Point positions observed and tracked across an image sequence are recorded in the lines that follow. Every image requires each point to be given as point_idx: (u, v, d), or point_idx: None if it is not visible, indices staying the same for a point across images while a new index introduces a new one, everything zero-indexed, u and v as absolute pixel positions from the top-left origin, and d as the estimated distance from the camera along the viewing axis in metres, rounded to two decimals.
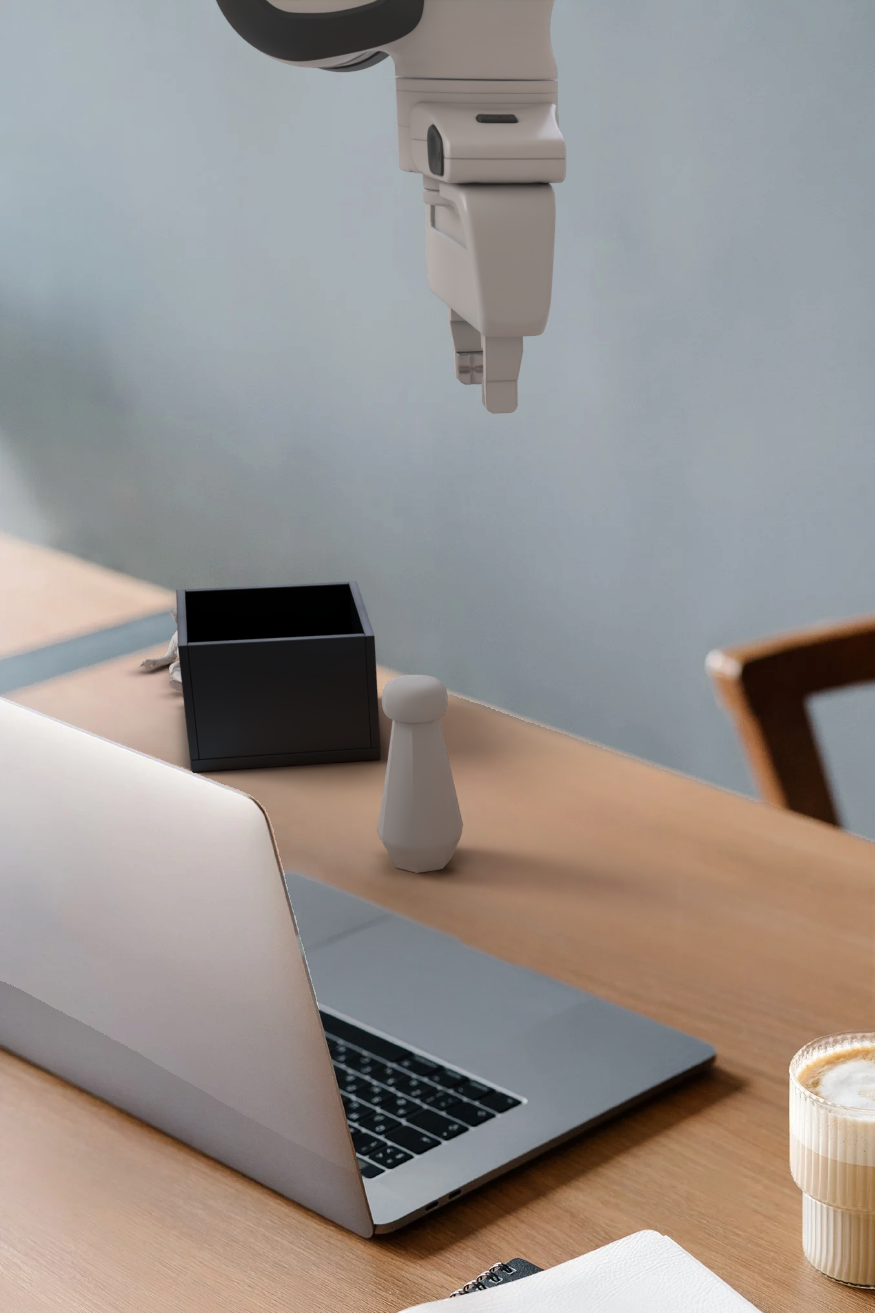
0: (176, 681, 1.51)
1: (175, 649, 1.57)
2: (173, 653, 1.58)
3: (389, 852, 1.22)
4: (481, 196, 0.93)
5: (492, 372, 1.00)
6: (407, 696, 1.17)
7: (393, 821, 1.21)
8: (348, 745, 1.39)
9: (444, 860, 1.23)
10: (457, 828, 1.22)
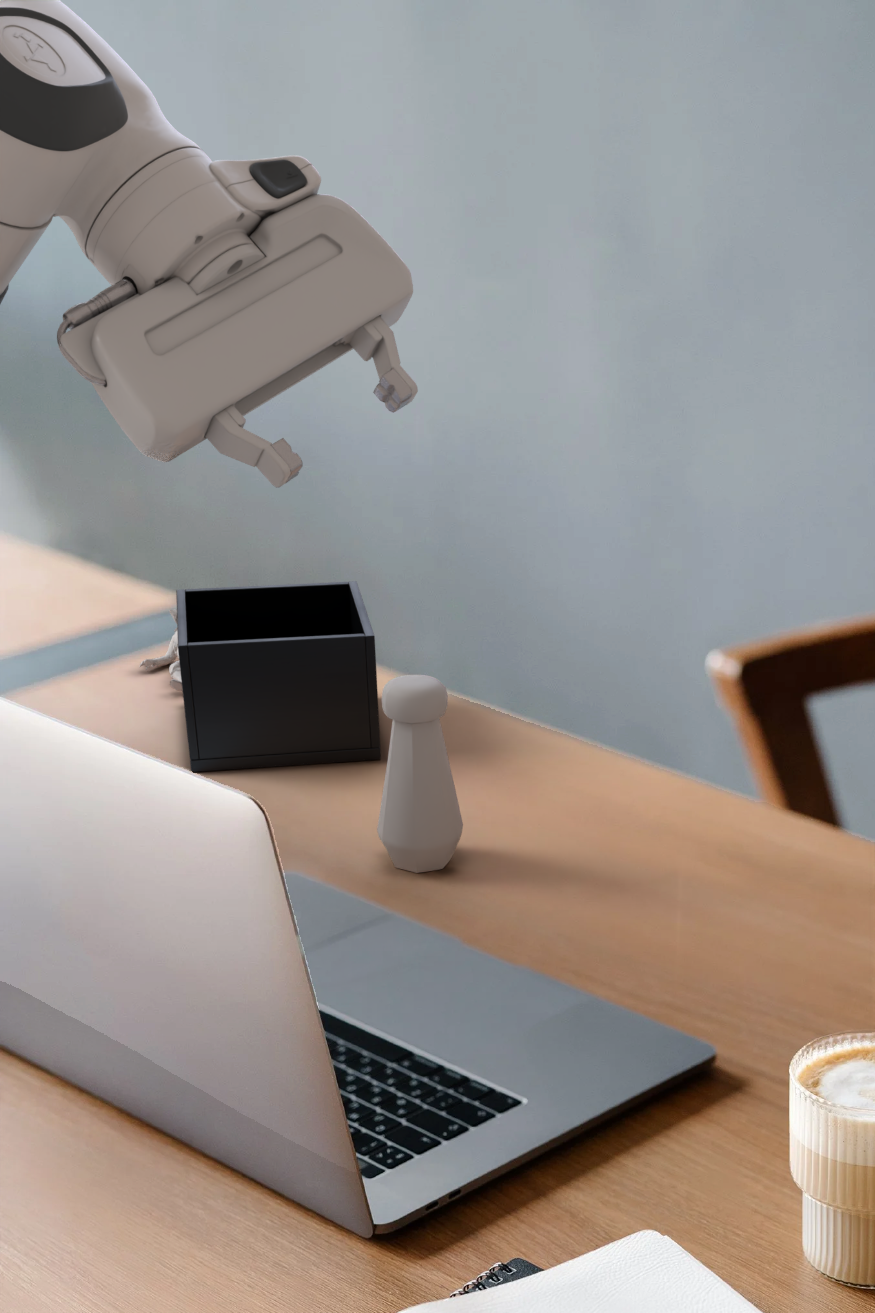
0: (176, 681, 1.51)
1: (175, 649, 1.57)
2: (173, 653, 1.58)
3: (389, 852, 1.22)
4: None
5: None
6: (407, 696, 1.17)
7: (393, 821, 1.21)
8: (348, 745, 1.39)
9: (444, 860, 1.23)
10: (457, 828, 1.22)
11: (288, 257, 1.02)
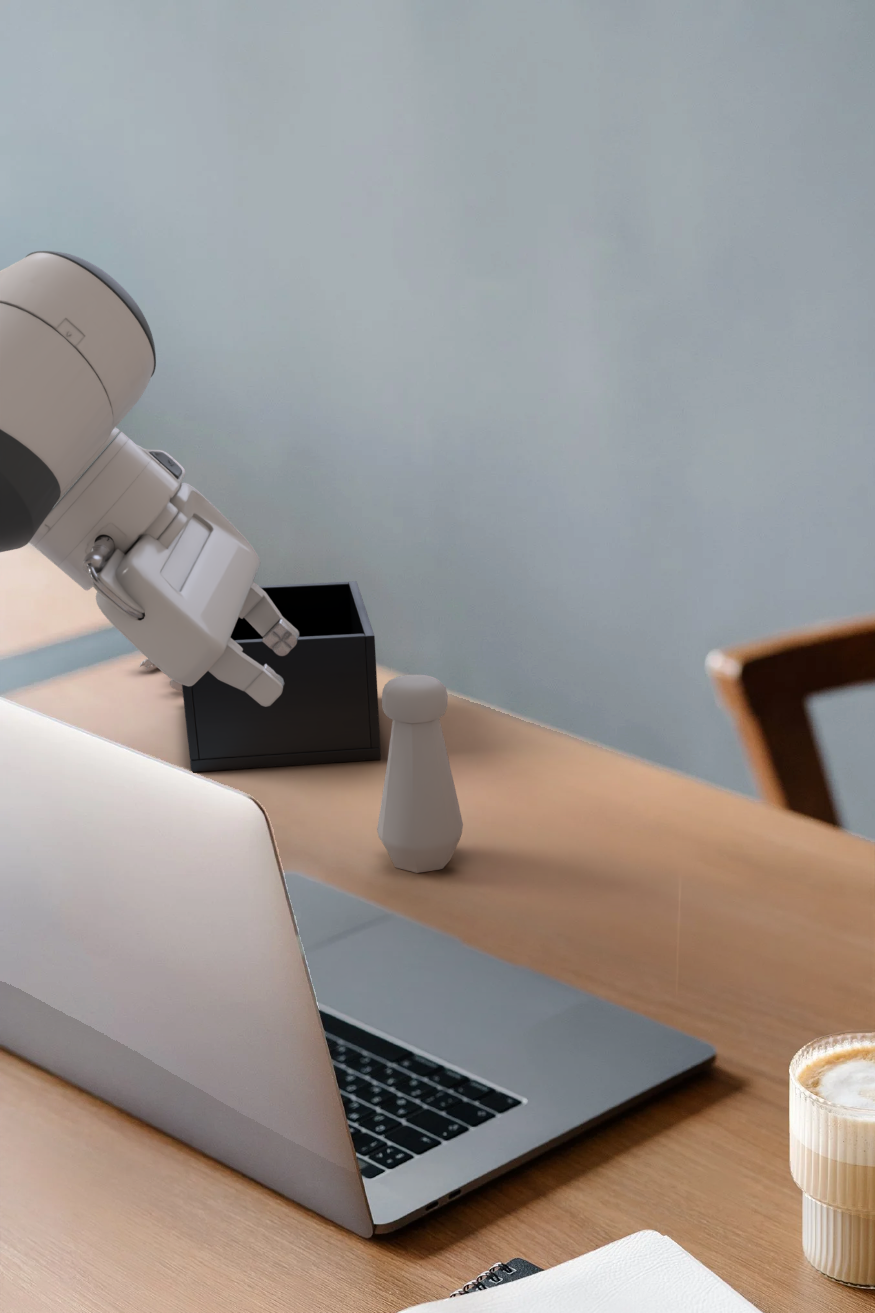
0: None
1: None
2: None
3: (389, 852, 1.22)
4: None
5: None
6: (407, 696, 1.17)
7: (393, 821, 1.21)
8: (348, 745, 1.39)
9: (444, 860, 1.23)
10: (457, 828, 1.22)
11: (187, 528, 1.15)
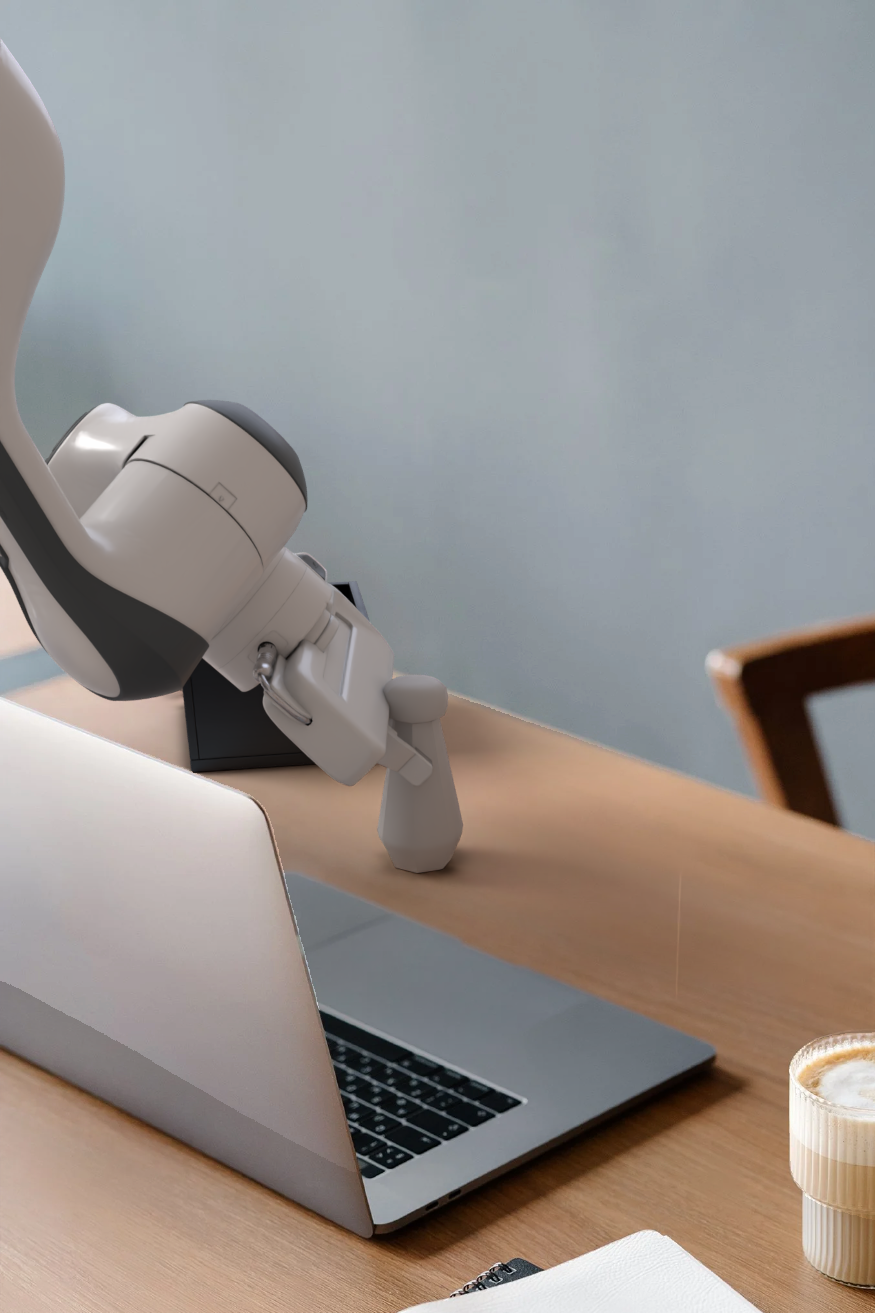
0: None
1: None
2: None
3: (389, 852, 1.22)
4: None
5: None
6: (407, 696, 1.17)
7: (393, 821, 1.21)
8: None
9: (444, 860, 1.23)
10: (457, 828, 1.22)
11: None
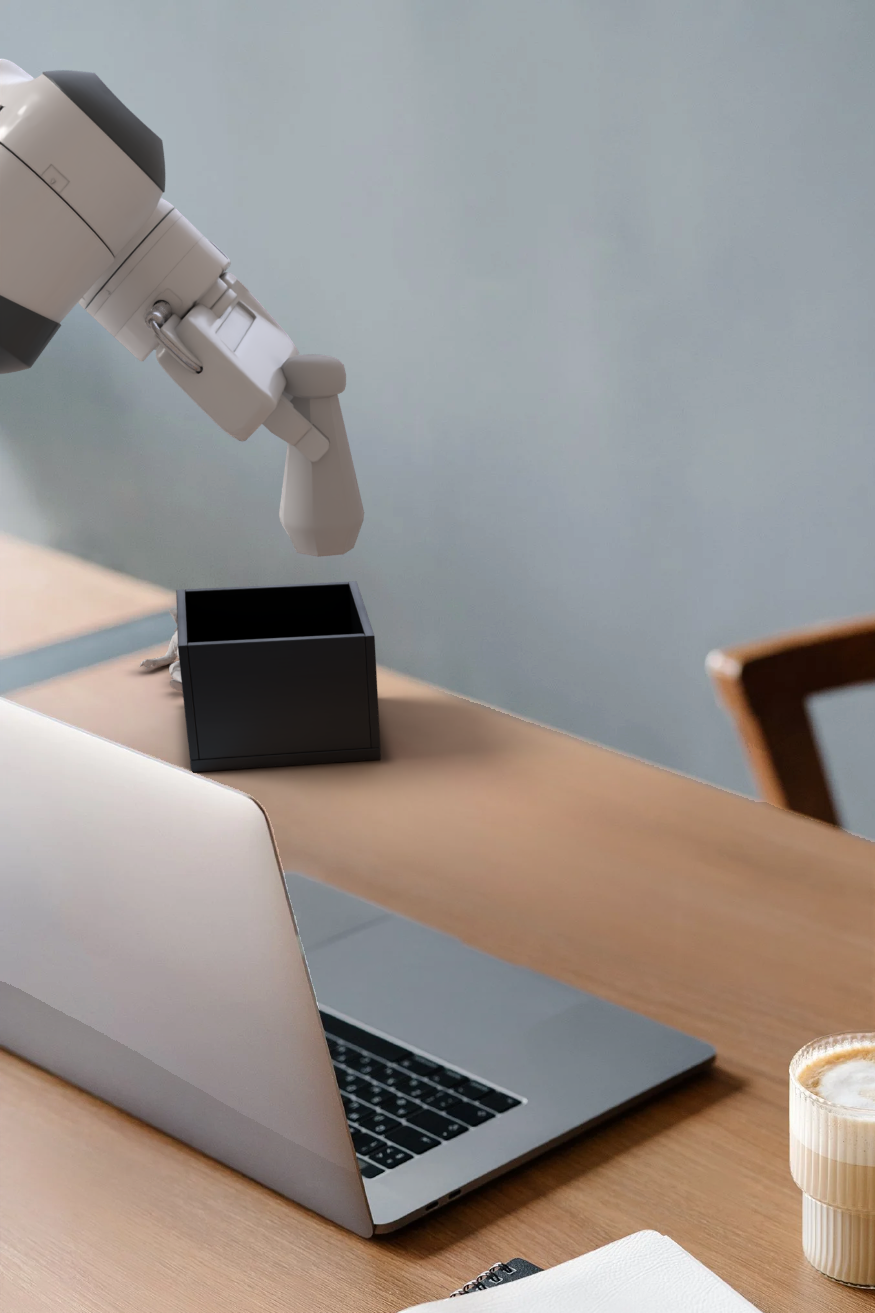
0: (176, 681, 1.51)
1: (175, 649, 1.57)
2: (173, 653, 1.58)
3: (290, 535, 1.25)
4: None
5: None
6: (304, 368, 1.19)
7: (293, 501, 1.23)
8: (348, 745, 1.39)
9: (344, 544, 1.25)
10: (357, 512, 1.25)
11: (234, 311, 1.23)
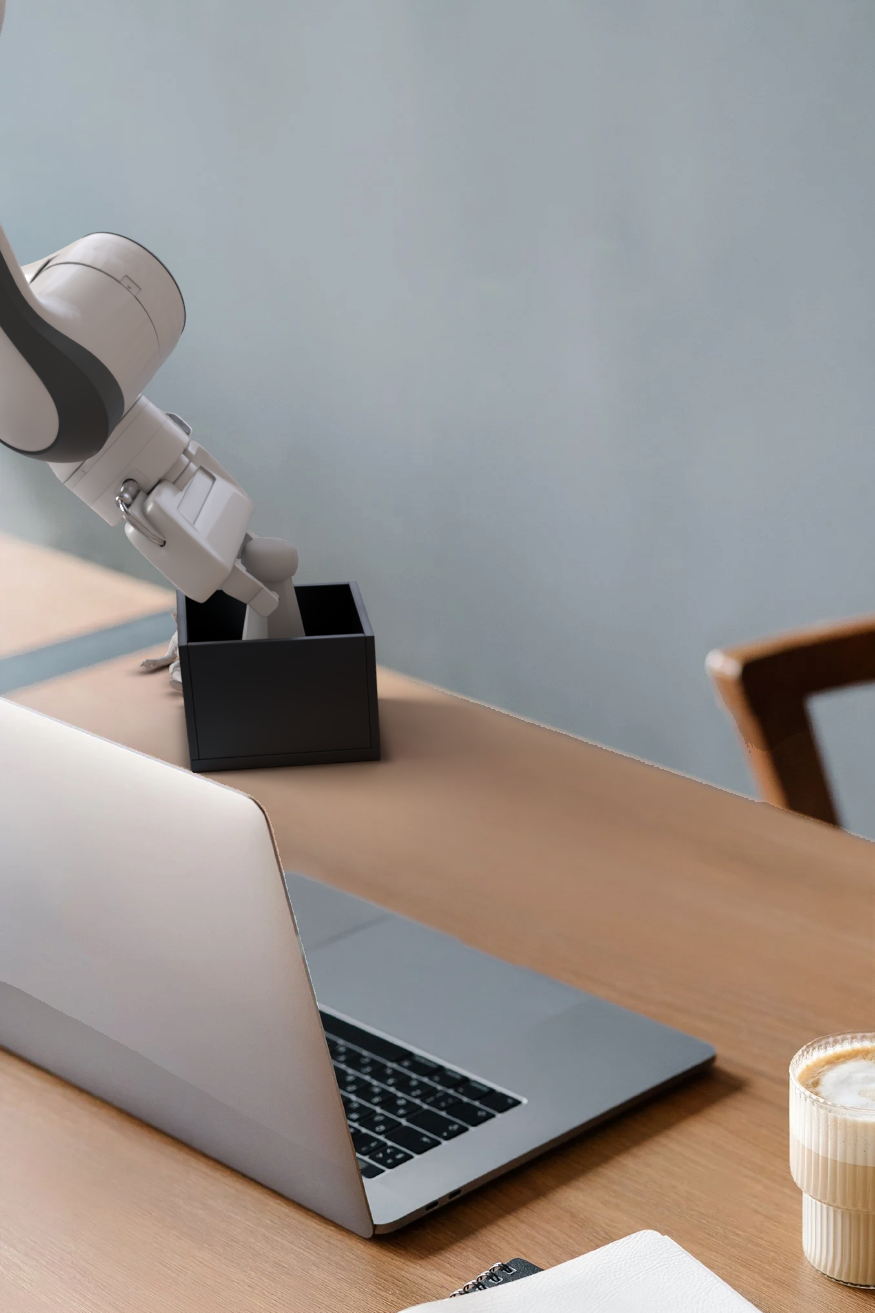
0: (176, 681, 1.51)
1: (175, 649, 1.57)
2: (173, 653, 1.58)
3: None
4: None
5: None
6: (262, 559, 1.36)
7: None
8: (348, 745, 1.39)
9: None
10: None
11: (195, 477, 1.38)
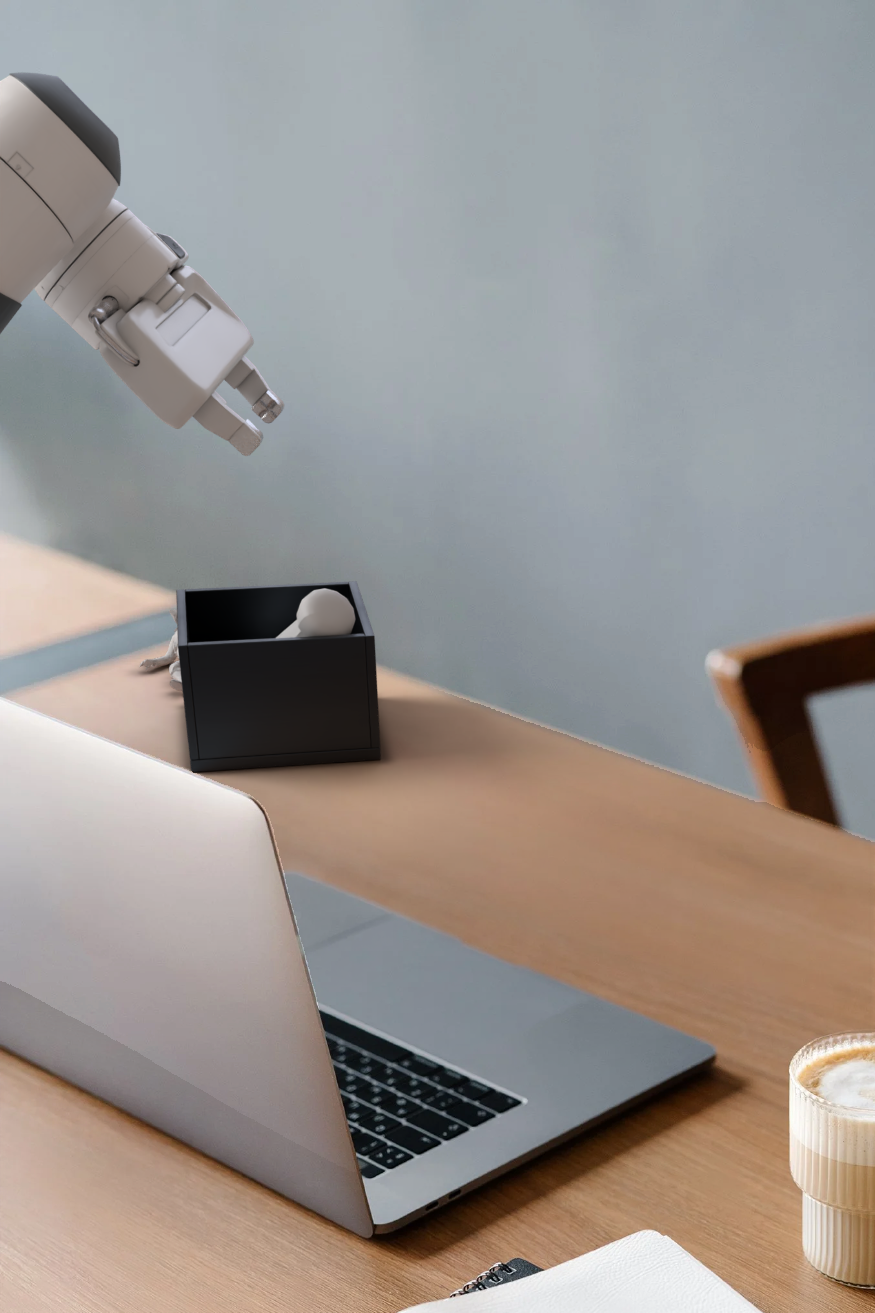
0: (176, 681, 1.51)
1: (175, 649, 1.57)
2: (173, 653, 1.58)
3: None
4: None
5: None
6: (320, 631, 1.35)
7: None
8: (348, 745, 1.39)
9: None
10: None
11: (187, 303, 1.32)
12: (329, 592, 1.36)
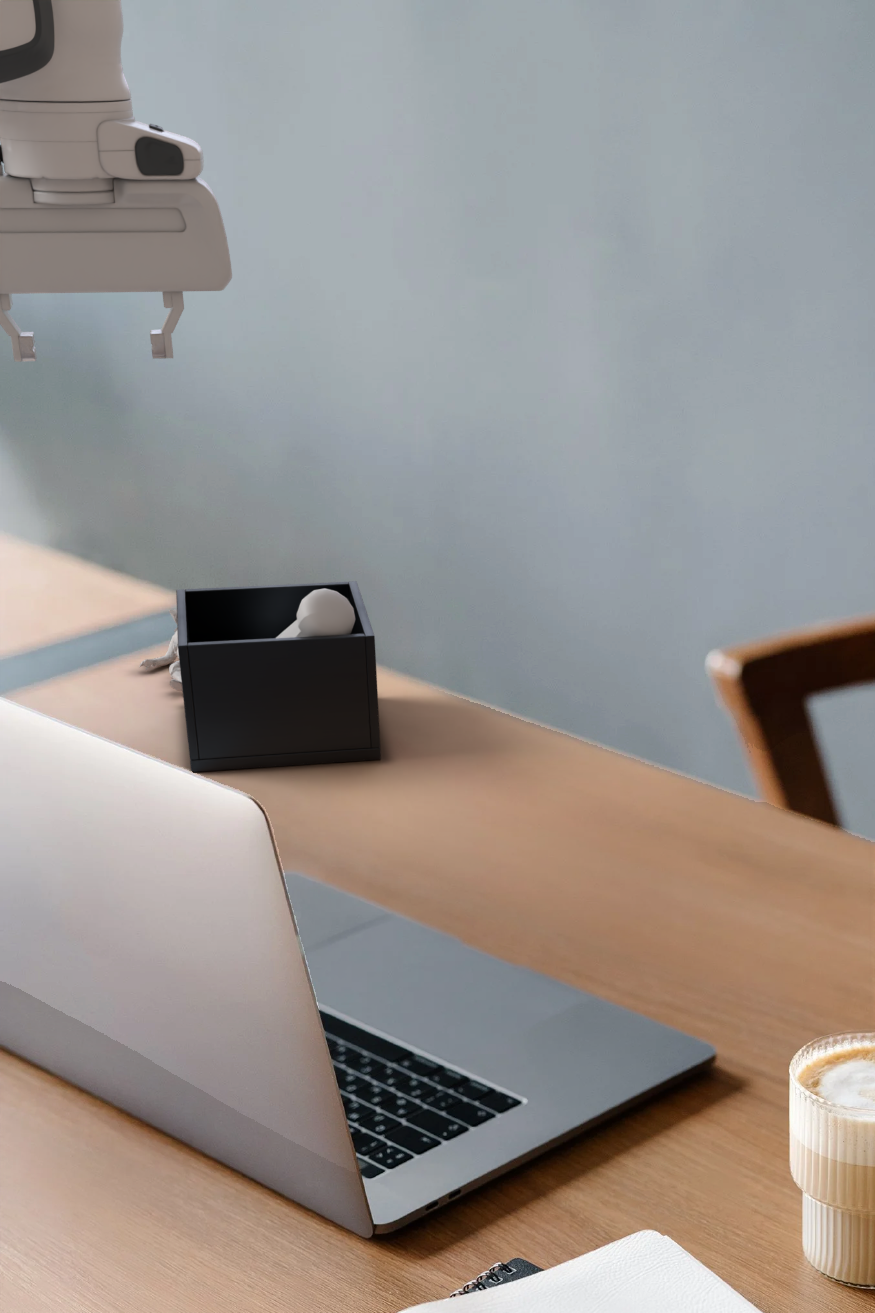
0: (176, 681, 1.51)
1: (175, 649, 1.57)
2: (173, 653, 1.58)
3: None
4: (206, 185, 1.24)
5: (176, 324, 1.28)
6: (320, 631, 1.35)
7: None
8: (348, 745, 1.39)
9: None
10: None
11: (136, 210, 1.23)
12: (329, 592, 1.36)
